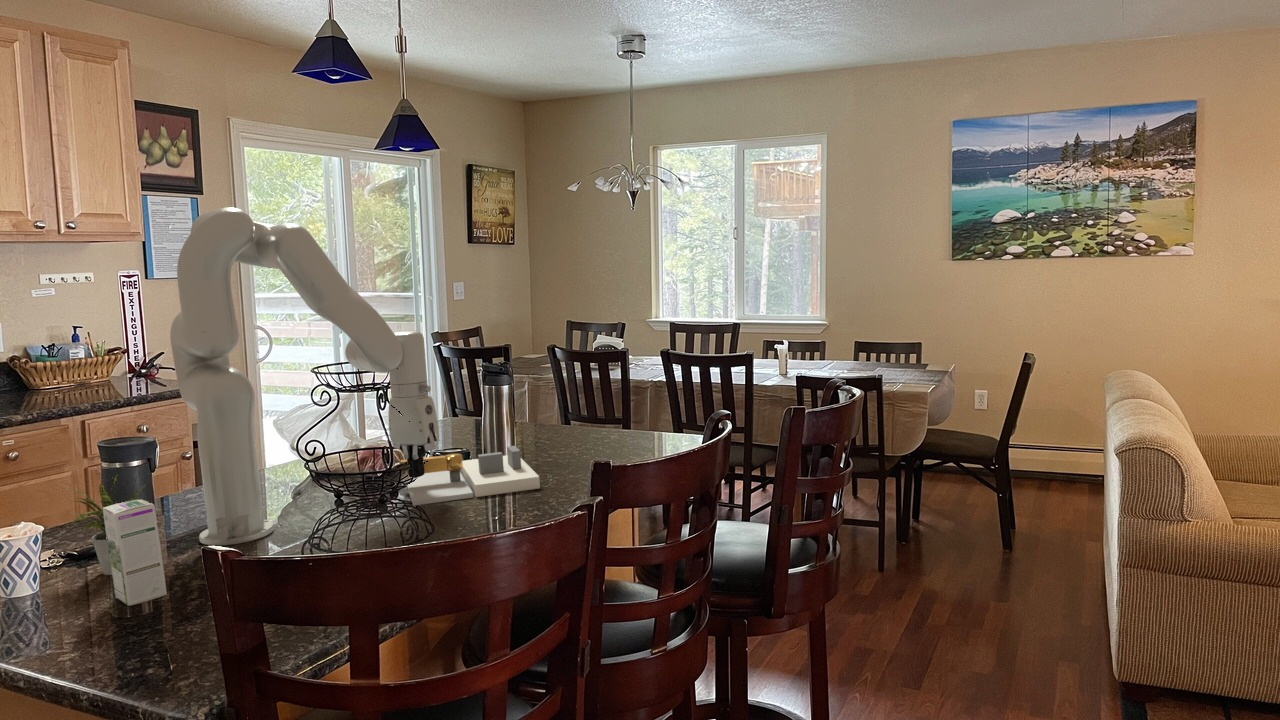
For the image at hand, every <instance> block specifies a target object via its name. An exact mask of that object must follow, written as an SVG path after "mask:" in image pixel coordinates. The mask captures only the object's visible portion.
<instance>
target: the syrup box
mask: <svg viewBox="0 0 1280 720" xmlns="http://www.w3.org/2000/svg"><path fill="white" fill-rule="evenodd" d="M149 502H150V501H147V500H144V499H142V498H138V499H137V498H136V499H135V500H131V501H129V500H125V502H121V503H117V502H116V503H115V504H114V505H110V506H107V507H104V506H103V507H102V509H103V514H104V516H103V519H104V522H105V530H106V537H107V543H108V550H109V557H110V564H111V572H112V575H111V577H112V584H113V591H114V597H115V599H116V600H119V601H120V602H121V603H123V604H124V605H126V606H135V605H137V604H141V603H146V602H148V601H151V600H155V599H158V598H160V597H161V598H162V597H164V596H167V594H168V593H167V585H166V577H165V570H164V569H165V568H164V562H163V556H162V548H161V541H160V534H159V529H158V522H157V521H158V520H157V514H156V513H157V512H156V506H155V504H154V503H152V502H151V503H149Z"/></svg>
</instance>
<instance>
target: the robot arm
mask: <svg viewBox="0 0 1280 720" xmlns="http://www.w3.org/2000/svg"><path fill="white" fill-rule="evenodd" d="M235 262H236V263H241V264H245V265H250V266H253V267H254V266H255V267H261V268H267V269H275V270H279V271H280V272H281V273H282V275H284V277H286V279H287V281H288V282H289V283H290V284H291V286H292V287H293V288H294V290H295V291H296V293H298V295H299V297H300V298H301V299H302V300H303V301H304V302H305V304H306V305H307V306H308V308H309V309H310V310H311V311H313V312H314V313H315V314H316V315H318V316H319V317H320V318H323V319H325V320H326V321H329V322H330V323H332V324H333V325H334V326H336V327H338V329H340V330H341V331H342V332H343V333H344V334H345V335H346V336H347V337H348V338H349V339H350V340H349V341H348V342H347V344H346V346H345V353H344V354H345V357H346V358H345V359H346V361H347V362H348V363H349V365H351V366H352V367H354V368H355V369H357V370H361V371H366V372H374V373H377V374H378V373H379V374H385V373H386V374H387V373H388V374H389V385H390V396H391V397H390V398H389V405H388V430H389V431H388V433H389V438H390V441H391V442H392V447H393V449H396V450H400V452H402V454H403V457H404V460H407V464H410V467H411V469H409V470H408V476H409V478H412V477H413V478H417V477H420V476H423V475H424V462H423V458H426V455H427V453H428V452H430V451H433V450H435V449H436V448H437V445H436V442H437V441H438V442H439V439H440V431H439V429H440V428H439V422H438V416H437V410H436V405H435V403H434V399H433V397H432V395H429V392H431V391H432V390H431V389H432V388H431V385H428V383H429V382H428V375H427V361H426V349H425V337H424V335H423V333H422V332H420V331H417V330H406V331H405V330H404V331H402V330H401V331H395V332H394V331H393V330H392V329H391V328H390V326H389V324H388V323H387V322H386V321H385V319H384V318H383V317H382V315H381V314H379V312H378V311H377V310H376V309H375V308H374V307H373V306H372V305H371V304H370V302H367V301H366V300H365V299H364V298H363V296H361V295H360V294H359V293H358V292H357V291H356V290H354V289H353V287H352V286H350V285H349V284H348V282H347V281H346V280H345V278H344V277H343V276H342V274H341V273H340V271H338V269H337V268H336V267H335V265H334V263H333V262H332V261H331V259H329V257H328V256H327V255H326V253H325V251H323V248H321V246H320V244H318V242H317V240H316V239H315V237H314V236H312V234H311V233H310V231H308V230H307V229H306V228H305V227H304V226H302V225H299V224H297V223H283V224H281V223H280V224H276V225H274V224H268V223H262V222H257V221H253V218H252V217H251V216H250V215H249V214H248V213H247V212H246V211H244V210H242V209H240V208H236V207H228V206H227V207H221V208H216V209H213V210H210V211H206V212H204V213H201V214H200V215H199V216H198V217H196V218H195V219H194V220H193V223H192V224H191V227H190V234H189V235H188V237H187V238H186V240H185V241H184V242H183V245H182V247H181V248H180V253H179V256H178V259H177V267H176V268H177V269H176V277H177V279H176V280H177V287H178V296H179V304H180V310H181V311H180V312H178V314H177V315H176V316H175V318H174V319H173V321H172V323H171V326H170V338H169V339H170V347H171V350H172V351H171V352H172V357H173V363H174V369H175V375H176V381H177V385H178V391H179V393H180V396H181V399H182V400H183V402H184V403H185V404H186V405H187V406H188V407H189V408H191V409H192V410H194V411H195V412H196V414H197V423H196V424H197V427H196V428H197V433H196V434H197V446H198V456H199V461H200V462H199V464H200V469H201V470H200V471H201V479H202V486H203V487H202V488H203V490H202V491H203V499H204V506H205V514H206V524H207V528H206V529H205V530H203V531H201V532H200V533H199V536H198V539H199V543H201V544H202V545H207V546H212V545H219V546H230V545H231V546H233V545H237V544H244V543H248V542H251V541H256V540H258V539H261V538H264V537H266V536H268V535H270V534H272V533H273V531H274V530H275V524H274V522H273V521H271V520H269V519H265V517H264V516H265V515H264V507H263V496H262V489H261V488H262V486H261V478H260V470H259V459H258V450H257V442H256V430H255V407H256V404H255V403H256V400H255V397H256V396H255V391H254V387H253V385H252V383H251V380H250V379H249V377H247V375H246V374H245V373H243V372H242V371H241V370H239V369H237V368H235V367H232V366H231V364H230V357H229V355H230V354H231V353H232V352H233V351H235V350H236V347H237V346H238V343H239V339H240V338H239V337H240V333H239V326H238V322H237V321H238V320H237V315H236V309H235V305H234V299H233V292H232V281H231V279H232V278H231V272H232V268H233V265H234V263H235ZM397 368H398V369H397ZM391 405H392V406H393V407H395V408H393V407H392V406H391ZM396 409H397V410H396ZM398 411H400V413H401V414H402V415H403V416H401V415H400V413H399V412H398ZM409 421H410V422H409Z"/></svg>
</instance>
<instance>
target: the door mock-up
mask: <svg viewBox="0 0 1280 720" xmlns="http://www.w3.org/2000/svg"><path fill="white" fill-rule="evenodd" d="M506 453H507V454H506V455H503V453H502V451H498V452H491V453H482V454H477V458H474V459H466V460H462V463H463V469H461V470H458V471H441V472H432V473H424V475H423V476H420V477H418V478H417V479H416V480H415V481H414V482H412V483H410V484H408V485H406V487H407V488H406V489H407V492H408V494H409V497H410V500H411V503H412V506H420V505H422V506H423V505H428V504H435V503H442V502H449V501H457V500H464V499H472V498H473V499H474V496H475V497H476V498H478V497H485V496H493V495H494V496H495V495H500V494H506V493H507V494H509V493H514V492H515V493H516V492H523V491H529V490H530V491H531V490H537V489H538V490H539V489H541V482H540V481H541V480H540V476H539V474H537V472H536V471H534V469H532V468H531V466H530V465H529V464H528V463H527V462H525V460H524V459H523V458H522V456H521V450H520V449H519V448H518V447H517V446H516V445H509V446H506Z"/></svg>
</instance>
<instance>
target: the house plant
mask: <svg viewBox="0 0 1280 720" xmlns="http://www.w3.org/2000/svg"><path fill="white" fill-rule="evenodd" d="M116 477H118V473H117V474H116V476H115V478H114V482H113V485H112V487H113V486H114V484H115V481H116V482H117V478H116ZM147 482H148V481H145V483H144V484H143V485H144V486H143V487H142V488H141V487H140V488H141V489H140V488H139V489H138V490H136V492H134V493H133V494H132V495H131V496H130V498H129V500H128V501H131V500H136V499H137V498H136V497H137V496H138V494H139V493H140V491H142V489H144V488H145V487H148V486H149V485H146V483H147ZM102 487H103V494H102ZM63 489H64V490H69V488H66V487H65V488H62V490H63ZM112 489H113V488H111V491H112ZM71 490H73V491H77V492H76V493H75V492H74V494H79V495H83V496H85V498H87V499H85V498H82V497H77V499H78V500H75V501H73V503H77V502H79V503H81V504H83V505H85V506H86V507H88V508H89V509H90V510H91V511H87V512H84V513H83V512H82V513H80V514H79V513H74V512H73V513H72V512H71V513H67V514H68V515H70V514H71V515H76V516H79V517H78V518H76V519H74V520H73V521H72V522H71V523H70V525H72V524H74V523H76V522H79V523H80V522H81V521H82V522H84V521H85V522H88V523H87V524H85V525H84V527H83V530H82V532H84V531H85V530H86V529H88V528H90V527H92V526H93V532H95V530H97V529H98V530H101V532H98V533H95V534H93V536H92V537H91V542H92V544H93V547H94V550H95V553H96V556H97V560H98V563H99V565H100V568H101V571H102V573H103V575H105V576H112V572H111V564H110V557H109V550H108V543H107V539H106V530H105V522H104V514H103V508H101V507H100V506H99V505H97V503H96V502H95V501H94V500H93V499H92V498H91V497H90V496H89V495H87V494H86V493H84V492H83V491H81V490H78V489H75V488H71ZM99 495H100V498H101V500H100V503H101V504H102V505H103V501H104V506H103V507H107V506H110V505H114V502H113V501H112V500H111V495H110V497H109V495H108V493H107V492H106V490H105V489H104V486H103V484H102V482H100V483H99ZM66 499H69V497H67V498H64V500H66ZM79 499H80V500H79ZM69 503H72V501H71V502H69ZM95 508H96V509H95ZM91 515H93V516H97V517H98V518H99V520H98V519H96V518H94V517H92V516H91ZM90 516H91V517H90ZM90 519H91V520H90ZM93 520H94V521H93ZM95 521H96V522H95Z"/></svg>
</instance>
